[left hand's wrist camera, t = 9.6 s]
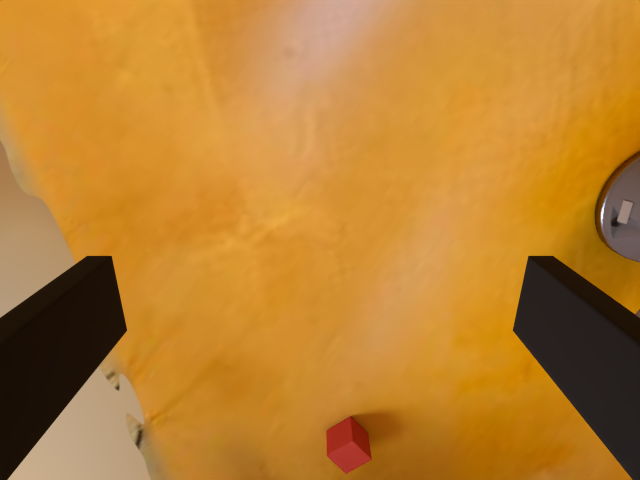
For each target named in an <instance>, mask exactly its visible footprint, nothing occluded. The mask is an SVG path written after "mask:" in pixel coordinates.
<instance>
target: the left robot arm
mask: <svg viewBox="0 0 640 480" xmlns="http://www.w3.org/2000/svg"><path fill="white" fill-rule="evenodd" d="M595 224H596V229H597V232H598V234H599V236H600V238H601V240H602V241H603V242H604V244H605V245H606V246H607V247H608V248H610V249H611V250H612V251H614V252H616V253H618V254H619V255H621V256H623V257H625V258H628V259H630V260H634V261H637V262H640V152H638V153H637V154H635V155H633V156H632V157H630V158H629V159H628V160H626V161H625V162H624V163H623V164H622V165H621V166H619V167H618V168H617V169H616V171H615V172H614V173H613V174H612V175H611V176H610V178H609V179H608V181H607V182H606V184H605V185H604V187H603V189H602V191H601V193H600V195H599V198H598V201H597V205H596V210H595ZM126 331H127V328H126V323H125V318H124V313H123V309H122V304H121V299H120V294H119V289H118V285H117V280H116V275H115V270H114V266H113V261H112V256H86V257H85V258H84V259H82V260H81V261H79V262H78V263H77V264H75V265H74V266H73V267H71V268H70V269H68V270H67V271H66V272H64V273H63V274H61V275H60V276H58V277H57V278H56V279H54V280H53V281H51V282H50V283H49V284H47V285H46V286H44V287H43V288H42V289H40V290H39V291H37V292H36V293H35V294H33V295H32V296H30V297H29V298H28V299H26V300H25V301H23V302H22V303H21V304H19V305H18V306H16V307H15V308H14V309H12V310H11V311H9V312H8V313H6V314H5V315H4V316H2V317H1V318H0V480H7V479H8V478H9V477H10V476H11V474H12V473H13V472H14V471H15V469H16V468H17V467H18V466H19V464H20V463H21V462H22V461H23V459H24V458H25V457H26V456H27V454H28V453H29V452H30V451H31V449H32V448H33V447H34V446H35V445H36V443H37V442H38V441H39V439H40V438H41V437H42V436H43V435H44V433H45V432H46V431H47V430H48V428H49V427H50V426H51V425H52V423H53V422H54V421H55V420H56V418H57V417H58V416H59V415H60V413H61V412H62V411H63V410H64V408H65V407H66V406H67V405H68V403H69V402H70V401H71V400H72V398H73V397H74V396H75V395H76V393H77V392H78V391H79V390H80V388H81V387H82V386H83V385H84V383H85V382H86V381H87V380H88V378H89V377H90V376H91V375H92V373H93V372H94V371H95V370H96V369H97V367H98V366H99V365H100V364H101V362H102V361H103V360H104V359H105V357H106V356H107V355H108V354H109V352H110V351H111V350H112V349H113V347H114V346H115V345H116V344H117V342H118V341H119V340H120V339H121V337H122V336H123V335H124V334H125V332H126ZM513 331H514V332H515V334H516V335H517V336H518V337H519V339H520V340H521V341H522V342H523V344H524V345H525V346H526V347H527V349H528V350H529V351H530V352H531V354H532V355H533V356H534V357H535V359H536V360H537V361H538V362H539V364H540V365H541V366H542V367H543V369H544V370H545V371H546V372H547V374H548V375H549V376H550V377H551V379H552V380H553V381H554V382H555V383H556V385H557V386H558V387H559V388H560V390H561V391H562V392H563V393H564V395H565V396H566V397H567V398H568V400H569V401H570V402H571V403H572V405H573V406H574V407H575V408H576V410H577V411H578V412H579V413H580V415H581V416H582V417H583V418H584V420H585V421H586V422H587V423H588V425H589V426H590V427H591V428H592V430H593V431H594V432H595V433H596V435H597V436H598V437H599V438H600V440H601V441H602V442H603V443H604V445H605V446H606V447H607V448H608V449H609V451H610V452H611V453H612V454H613V456H614V457H615V458H616V459H617V461H618V462H619V463H620V464H621V466H622V467H623V468H624V469H625V471H626V472H627V473H628V474H629V476H630V477H631V478H632V479H633V480H640V310H639V311H638V312H637V313H636V314H634V313H632V312H631V311H629V310H628V309H627V308H625V307H624V306H622V305H621V304H620V303H618V302H617V301H615V300H614V299H613V298H611V297H610V296H608V295H607V294H605V293H604V292H603V291H601V290H600V289H598V288H597V287H596V286H594V285H593V284H591V283H590V282H589V281H587V280H586V279H584V278H583V277H582V276H580V275H579V274H577V273H576V272H575V271H573V270H572V269H570V268H569V267H568V266H566V265H565V264H563V263H562V262H561V261H559V260H558V259H556V258H555V257H554V256H528V261H527V266H526V270H525V275H524V280H523V285H522V289H521V294H520V299H519V304H518V309H517V313H516V318H515V323H514V328H513Z"/></svg>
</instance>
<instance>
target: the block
mask: <svg viewBox="0 0 640 480" xmlns="http://www.w3.org/2000/svg"><path fill="white" fill-rule="evenodd" d="M327 456H328V457H329V458H330V459H331V460H332V461H333V462H334V463H335V464H336V465H337V466H338V467H339V468H340V469H341V470H343V471H344V472H345V473H346V474H347V473H349V472H350V471H352V470H354V469H356V468H357V467H359V466H361V465H363V464H365V463H366V462H368V461H370V460H372V458H371V451H370V444H369V436H368V433H367V432H366V431H365V430H364V429H363V428H362V427H361V426H360V425H359V424H358V423H357V422H356V421H355V420H354V419H353V418H352V417H351V416H350V417H349V418H347V419H345V420H344V421H342V422H340V423H339V424H337V425H335V426H334V427H332V428H330V429H329V430H327Z"/></svg>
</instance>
